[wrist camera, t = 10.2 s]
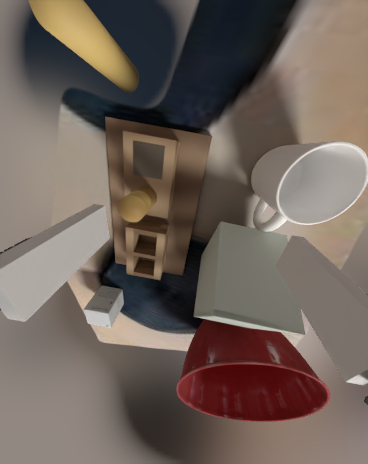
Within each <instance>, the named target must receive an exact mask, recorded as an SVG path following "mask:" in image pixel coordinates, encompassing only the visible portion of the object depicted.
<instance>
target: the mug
mask: <svg viewBox="0 0 368 464" xmlns="http://www.w3.org/2000/svg"><path fill="white" fill-rule="evenodd" d="M367 182H368V157H367V155H366V153H365V152H364V151H363V150H362V149H361V148H360V147H358V146H357V145H354V144H352V143H349V142H342V141H335V142H322V143H309V144H297V145H285V146H280V147H277V148H274V149H272V150H270V151H268V152H267V153H266V154H264V155H263V156H262V157H261V158H260V159H259V160H258V162H257V163H256V165H255V166H254V169H253V171H252V175H251V185H252V188H253V191H254V192H255V194H256V195H257V196H258V197H259V198H260V201H259V202H258V204H257V206H256V208H255V210H254V214H253V223H254V226H255V227H256V229H259V230H262V231H263V232H269V231H273V230H275V229H277V228H278V227H280V226H281V225H282V224H283V223H284V222H285V221H286V220H289V221H291V222H293V223H297V224H303V225H311V224H318V223H322V222H325V221H328V220H330V219H332V218H334V217H336V216H338V215H340V214H341V213H343V212H344V211H345V210H347V209H348V208H349V207H350V206H351V205H352V204H353V203H354V202H355V201H356V200H357V199H358V198H359V197H360V195H361V194H362V192H363V191H364V189H365V187H366V185H367ZM268 205H269V206H271V207H272V208H273V209H274V210H276V213H275V214H274V216H273V217H272V218H271V219H270V220H269V221H267V222H265V223H264V222H263V221H262V215H263V212H264V210H265V208H266V207H267V206H268Z"/></svg>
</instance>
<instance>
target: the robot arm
mask: <svg viewBox="0 0 368 464" xmlns="http://www.w3.org/2000/svg"><path fill="white" fill-rule="evenodd" d="M109 239H110V237H109V230H108V224H107V217H106V210H105V206H103V205H97V204H94V205H92V206H90V207H88V208H86V209H84V210H82V211H81V212H79V213H77V214H75V215H73V216H71V217H69V218H67V219H66V220H64V221H62V222H60V223H58V224H56V225H54V226H52V227H50V228H49V229H47V230H45V231H43V232H41V233H39V234H37V235H36V236H34V237H31V238H28V239H25V240H23V241H21V242H19V243H17V244H16V245H14V247H10V248H8V249H6V250H4V252H0V310H1V311H2V312H3V313H4V315H5V316H6V317H7V318H8V319H12V320H17V321H23V322H25V321H26V320H28V319H29V318H30V317H31V316H32V315H33V314H34V313H35V312H36V311H37V310H38V309H39V308H40V307H41V306H42V305H43V304H44V303H45V302H46V301H47V300H48V299H49V298H50V297H51V296H52V295H53V294H54V293H55V292H56V291H57V290H58V289H59V288H60V287H61V286H62V285H63V284H64V283H65V282H66V281H67V280H68V279H69V278H70V277H71V276H72V275H73V274H74V273H75V272H76V271H77V270H78V269H79V268H80V267H81V266H82V265H83V264H84V263H85V262H86V261H87V260H88V259H89V258H90V257H91V256H92V255H93V254H94V253H95V252H96V251H97V250H98V249H99V248H100V247H101V246H102V245H104V244H105V243H106V242H107V241H108V240H109ZM275 267H276V268H277V270H278V271H279V273H280V275H281V276H282V278H283V280H284V281H285V283H286V285H287V286H288V288H289V290H290V291H291V293H292V295H293V296H294V298H295V300H296V301H297V303H298V304H299V306H300V308H301V309H302V311H303V313H304V314H305V316H306V318H307V319H308V321H309V323H310V324H311V326H312V328H313V329H314V331H315V332H316V334H317V336H318V337H319V339H320V341H321V342H322V344H323V346H324V347H325V349H326V350H327V352H328V353H329V355H330V357H331V359H332V360H333V362H334V364H335V365H336V367H337V368H338V370H339V372H340V373H341V375H342V377H343V379H344V380H345V382H349V383H355V384H360V385H368V295H367V294H366V293H365V292H364V291H363V290H362V289H360V288H359V287H358V286H357V285H356V284H355V283H354V282H353V281H352V280H350V279H349V278H348V277H347V276H346V275H345V274H344V273H343V272H342V271H340V270H339V269H338V268H337V267H336V266H335V265H334V264H333V263H332V262H330V261H329V260H328V259H327V258H326V257H325V256H324V255H323V254H322V253H320V252H319V251H318V250H317V249H316V248H315V247H314V246H313V245H312V244H310V243H309V242H308V241H307V240H306V239H305V238H304V237H298V236H292V237H291V239H290V240H289V242H288V244H287V246H286V247H285V249H284V251H283V253H282V254H281V256H280V258H279V260H278V261H277V263H276V265H275ZM364 402H365V403H366V404H367V405H368V396H367V397H365V400H364Z"/></svg>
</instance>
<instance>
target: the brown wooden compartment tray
mask: <svg viewBox="0 0 368 464" xmlns="http://www.w3.org/2000/svg"><path fill="white" fill-rule="evenodd" d="M105 124H106V137H107V151H108V165H109V179H110V192H111V206H112V220H113V233H114V247H115V261H116V263H120V264H125V265H127V274H131V275H136V276H141V277H146V278H151V279H156V280H160V279H161V276H162V272H166V273H171V274H176V275H181V276H182V275H183V271H184V266H185V261H186V257H187V252H188V247H189V242H190V238H191V233H192V228H193V223H194V219H195V214H196V209H197V205H198V200H199V195H200V190H201V186H202V181H203V176H204V172H205V167H206V162H207V157H208V153H209V148H210V143H211V139H212V136H209V135H203V134H198V133H192V132H187V131H181V130H176V129H170V128H165V127H159V126H154V125H148V124H143V123H137V122H132V121H126V120H121V119H115V118H110V117H105Z"/></svg>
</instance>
